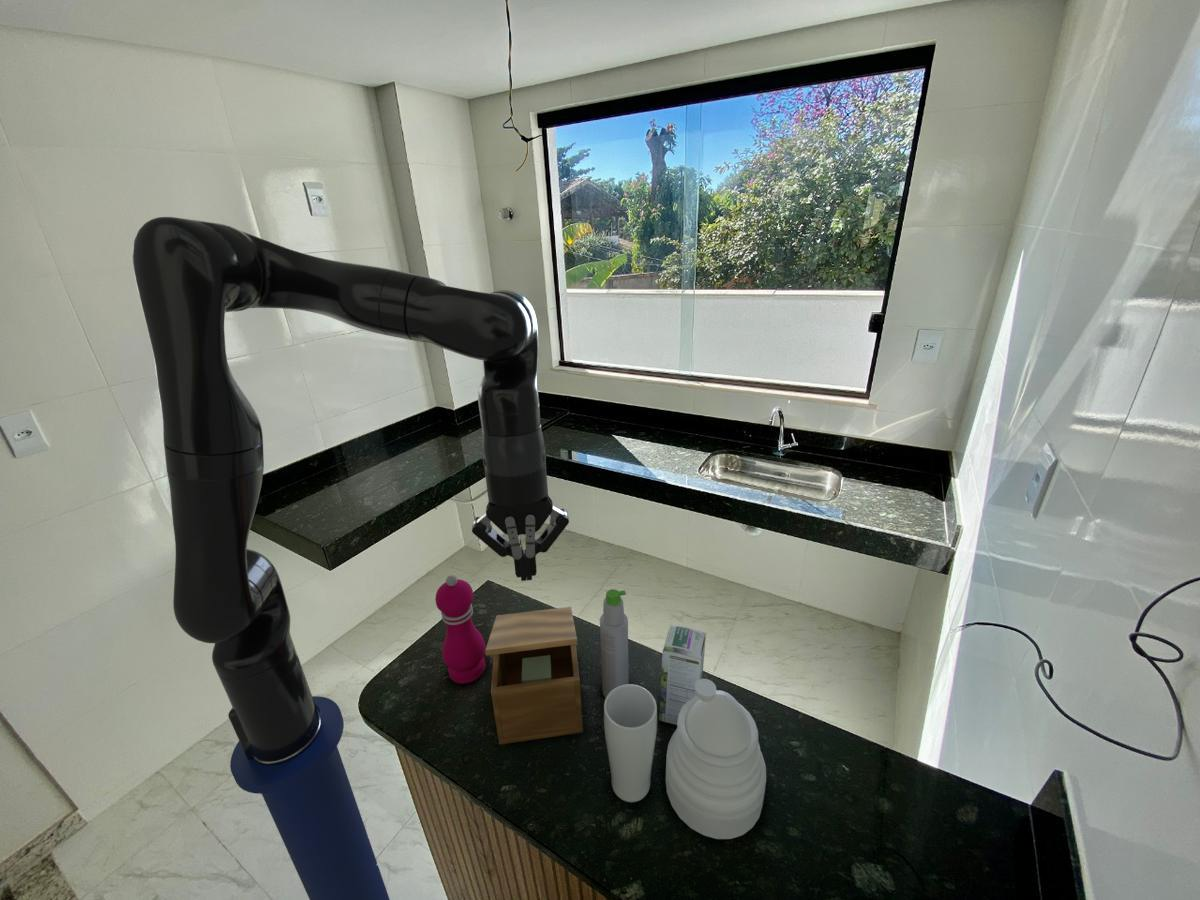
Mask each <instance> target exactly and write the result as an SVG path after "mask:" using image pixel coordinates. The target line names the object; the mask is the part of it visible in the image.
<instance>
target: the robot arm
mask: <svg viewBox="0 0 1200 900" xmlns="http://www.w3.org/2000/svg"><path fill="white" fill-rule="evenodd" d="M132 247H133V248H132V265H133V267H132V268H133V272H134V273H133V274H134V278H135V284H136V288H137V292H138V297H139V302H140V305H141V310H142V313H143V318H144V321H145V325H146V330H147V333H148V337H149V342H150V346H151V350H152V355H153V361H154V367H155V375H156V381H157V389H158V395H159V402H160V410H161V417H162V435H163V437H162V438H163V449H164V457H165V468H166V474H167V479H168V485H169V486H168V487H169V493H170V507H171V517H172V525H173V526H172V527H173V533H174V543H175V545H174V546H175V547H174V548H175V549H174V550H175V562H174V581H173V599H172V602H173V604H172V605H173V613H174V617H175V619H176V622H177V623H178V625H179V626H180V628H181V629H182V631H183V632H184V633H186V634H187V635H188V636H189V637H191V638H192V639H194V640H196V641H199V642H201V643H205V644H213V649H212V653H211V661H212V665H213V667H214V669H215V671H216V674H217V676H218V678H219V680H220V683H221V685H222V687H223V690H224V692H225V694H226V696H227V698H228V701H229V703H230V705H231V709H230V710H229V712H228V714H227V715H228V719H229V722H230V723H231V726H232V728H233V731H234V733H235V735H236V737H237V739H238V742H239V741H240V743H241V746H242V748H243V750H244V752H245V755H246V757H247V759H248V760H250V759H255V761H256V762H257V763H259V764H261V765H266V766H272V765H278V764H282V763H285V762H287V761H289V760H291V759H293V758H295V757H297V756H298V755H300V754H301V753H302V752H304V751H305V750H306V749H307V748H308V747H309V746H310V745H311V744H312V743H313V742H314V741H315V739H316V738H317V736H318V734H319V732H320V729H321V723H322V722H321V718H320V715H319V714H318V712H317V710H318V711H319V712H320V709H319V708H318V707H317V705H316V704H315V703H314V700H313V697H312V696H313V695H312V692H311V689H310V686H309V684H308V681H307V678H306V675H305V671H304V669H303V667H302V663H301V660H300V658H299V655H298V652H297V649H296V646H295V644H294V641H293V638H292V635H291V613H290V608H289V606H288V602H287V599H286V594H285V591H284V589H283V583H282V580H281V579H280V575H279V573H278V571H277V568H276V567H275V565H274V564H273V563H272V561H270V560H269V558H267V557H266V556H265V555H263V554H262V553H260V552H258V551H256V550H253V549H250V548H247V547H248V539H249V536H250V531H251V529H252V528H251V527H252V524H253V520H254V516H255V513H256V510H257V506H258V503H259V499H260V494H261V490H262V485H263V479H264V478H263V477H264V468H265V464H264V463H265V462H264V461H265V459H264V436H263V435H264V434H263V429H262V428H263V427H262V423H261V420H260V418H259V415H258V413H257V412H256V409H255V408H254V407H253V405H252V403H251V402H250V400H249V399H248V397H247V396H246V395H245V393H244V391H243V390H242V388H241V387H240V385H239V384H238V382H237V380H236V379H235V378H234V375H233V373H232V371H231V368H230V364H229V362H228V355H227V350H226V348H227V347H226V335H225V318H226V313H234V312H235V313H236V312H243V311H246V310H248V309H280V310H281V309H283V310H296V311H304V312H310V313H314V314H318V315H322V316H325V317H328V318H331V319H333V320H336V321H339V322H341V323H343V324H346V325H349V326H351V327H354V328H356V329H360V330H364V331H367V332H370V333H373V334H378V335H379V334H380V335H383V336H389V337H393V338H399V339H403V340H409V341H414V342H415V341H416V342H419V343H428V344H432V345H434V346H437V347H439V348H441V349H444V350H447V351H450V352H453V353H455V354H458V355H461V356H464V357H467V358H470V359H475V360H479V361H482V370H483V371H482V380H481V381H480V384H479V387H478V394H477V395H478V396H477V398H478V399H477V400H478V401H477V402H478V410H479V418H480V419H479V420H480V426H481V452H482V464H483V467H484V475H485V484H486V493H487V499H488V502H487V504H486V507H485V513H484V514H482V515H481V516H476V517H475V518H474V519H473V522H472V527H471V533H472V534H473V535H474V536H475V537H477V538H478V539H479V540H480V541H482V542H483V543H484V544H485V545H486V546H487V547H489V548H490V549H491V550H492V551H493V552H494V553H496V554H497V555H498V556H499V557H500V558H505V557H507V556H508V557H511V558H512V559H513V565H514V572H515V574H514V575H515V576H516V578H517V579H518V578H520V580H521V581H520V582H526V581H527V582H528V581H533V577H534V576H536V575H537V571H538V570H537V557H536V556H537V555H538V554H540V553H542V554H543V553H547V552H548V551H549V549H550V548H551V547H552V546H553V544H555V542H556V540H557V539H558V538H559V536H561V534H562V533H563V531H564V530H565V529H566V527H567V526H569V523H570V519H569V514H568V510H567V509H566V508H561V509H559V508H557V507H555V506H554V505H553V504H554V503H553V500H552V499H551V497H550V496H549V487H548V475H547V474H548V473H547V461H546V459H547V454H546V447H545V438H544V434H543V431H542V424H541V423H542V421H541V408H540V397H539V391H538V390H539V389H538V365H539V363H538V362H539V327H538V326H539V325H538V319H537V315H536V312H535V309H534V308H533V305H532V304H531V302H530V301H529V300H528V299H527V297H525V296H524V295H522V294H521V293H519V292H517V291H514V290H512V289H499V290H495V291H492V292H483V291H482V292H481V291H475V290H469V289H466V288H465V289H464V288H460V287H454V286H448V285H446V283H444V282H443V281H441V280H439V279H436V278H433V277H429V276H425V275H420V274H416V273H411V272H405V271H401V270H395V269H391V268H386V267H379V266H373V265H368V264H359V263H353V262H347V261H340V260H332V259H327V258H322V257H319V256H314V255H311V254H308V253H303V252H300V251H297V250H293V249H290V248H287V247H285V246H281V245H279V244H278V243H277V244H276V243H274V242H271V241H269V240H266V239H263V238H261V237H258V236H255V235H253V234H251V233H248V232H245V231H242V230H240V229H237V228H235V227H233V226H231V225H228V224H224V223H219V222H213V221H212V222H211V221H203V220H197V219H191V218H184V217H183V218H182V217H176V216H175V217H174V216H160V217H159V216H158V217H154V218H152V219H150V220H148V221H146V222H145V223H144V224H143V225H142V226H141V227H140V228H139V230H138V231H137V233H136V235H135V238H134V240H133V246H132ZM547 519H549V524H548V525H546V527H545V528H544V530H543V531H542V533H540V535H539V536H538V538H537V539H536V533H537V532H538V531H540V530H541V528H542V527H543V525H544V524H545V522H546V521H547ZM493 525H494V526H496V527H497V528H498V529H499V530H500V531H501V532H502V533H503V534H504V535H507V537H508V539H506V538H505V537H504V536H503V535H502V534H501V533H499V532H498V531H497V530H496V529H495V528H493ZM521 535H524V536H525V549H523V542H522V538H521ZM316 708H317V709H316ZM320 714H321V712H320Z"/></svg>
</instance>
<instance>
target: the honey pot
mask: <svg viewBox="0 0 1200 900" xmlns="http://www.w3.org/2000/svg"><path fill="white" fill-rule="evenodd" d="M695 692H696V695H697V696H695V697H694V698H692V699H690V700H688V701H687V702H686V703H685V704H684V705H683V706H682V708H681V710H680V712H679V715H678V721H677V725H676V729H675V730H674V732H673V733H672V735H671V738H670V739H669V741H668V744H667V749H666V759H665V760H666V761H665V788H666V795H667V797H668V800H669V802H670V805H671V807H672V808H673V810H674V812H675V813H676V814H677V816H678V817H679V819H680V820H681V821H682V822H684V824H686V825H687V826H688V827H689V828H690V829H691V830H693V831H694V832H697V833H698V834H700V835H702V836H704V837H708V838H712V839H715V840H731V839H736V838H739V837H742V836H744V835H745V834H746V833H748V832H749V831H750V830H751V829H753V828H754V826H755V825H756V823H757V822H758V820H759V819H760V817H761V814H762V810H763V805H764V801H765V800H764V799H765V793H766V783H767V766H766V762H765V759H764V756H763V752H762V751H761V746H760V742H759V731H758V727H757V724H756V721H755V719H754V718H753V716H752V714H751V713H750V712H749V711H748V710H747V709H746V707H744V706H743V704H742V703H739V702H738V700H737V699H736V698H735V697H734V696H733V695H732V694H730V693H729V692H727V691H724V690H721V689H720V690H719V689H718V690H717V686H716V684H715V682H713V681H712V680H711V679H708V678H702V679H700V680H698V681H697V682H696V683H695Z"/></svg>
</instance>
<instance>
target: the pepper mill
mask: <svg viewBox="0 0 1200 900" xmlns="http://www.w3.org/2000/svg"><path fill="white" fill-rule="evenodd" d="M474 595H475V594H474V591H473V587H472V586H471V584H470V583H469V582H468V581H466V580H465V579H460V578H459V579H458V577H457V576H456V575H454V574H450V575H448V576H447V577H446V579H445V582H443V583H442V584H441V585H440V586H439V587H438V588H437V591H436V593H435V600H434V601H435V605H436V608H437V609H438V610H439V611H440V614H441V620H442V621H443V623H445V624H446V635H445V638H444V641H443V644H442V650H441V655H442V661H443V663H444V664H445V665H446V666H447V670H448V675H449V678H450V679H451V680H452V682H454V683H456V684H462V685H463V684H468V683H472V682H474V681H476V680H477V679H479V678H480V677H481V676H482V675H483V673H484V671H485V669H486V661H485V660H486V659H485V655H486V654H485V650H486V647H487V646H486V642H485V639H484V637H483V635H482V633H480V631H479V630H478V629H477V628H476V626H475V625H474V623H473V620H472V616H473V615H474V609H473V602H474Z"/></svg>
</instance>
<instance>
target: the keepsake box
mask: <svg viewBox="0 0 1200 900" xmlns="http://www.w3.org/2000/svg"><path fill="white" fill-rule="evenodd" d="M576 645H577V644H575V645H567V646H559V647H551V648H543V649H535V650H527V651H519V652H511V653H503V654H495V655H493V662H492V674H491V675H492V676H491V685H490V695H491V701H492V708H493V714H494V721H495V728H496V733H497V734H496V735H497V739H498V744H499V745H507V744H514V743H521V742H526V741H532V740H533V741H534V740H541V739H547V738H555V737H560V736H567V735H572V734H573V735H576V734H582V733H583V732H584V725H583V714H582V713H583V712H582V695H581V693H582V692H581V679H580V672H579V670H580V669H579V663H578V662H579V661H578V654H577V646H576ZM546 655H550V658H551V669H552V679H551V680H544V681H536V682H529V683H522V658H530V657H538V656H546Z"/></svg>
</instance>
